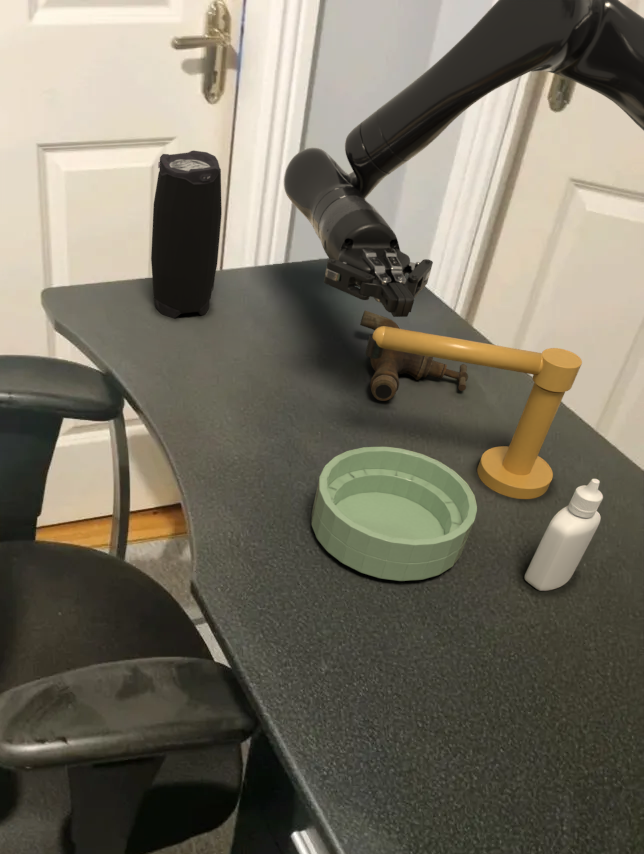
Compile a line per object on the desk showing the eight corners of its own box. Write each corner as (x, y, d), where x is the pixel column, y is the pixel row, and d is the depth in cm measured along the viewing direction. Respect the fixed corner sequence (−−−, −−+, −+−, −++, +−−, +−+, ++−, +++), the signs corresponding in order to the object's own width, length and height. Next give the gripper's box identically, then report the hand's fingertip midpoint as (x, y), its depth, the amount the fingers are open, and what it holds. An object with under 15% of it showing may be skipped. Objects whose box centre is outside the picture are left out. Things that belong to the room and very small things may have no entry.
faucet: (354, 365, 103) (474, 400, 102) (368, 298, 114) (476, 330, 114) (342, 397, 106) (457, 431, 106) (357, 329, 118) (462, 360, 117)
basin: (429, 484, 95) (443, 443, 91) (484, 581, 84) (502, 539, 80) (294, 491, 92) (302, 449, 89) (333, 591, 82) (344, 548, 78)
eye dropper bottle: (513, 562, 87) (556, 466, 78) (565, 561, 87) (614, 466, 79) (529, 592, 83) (576, 496, 75) (583, 591, 84) (635, 495, 76)
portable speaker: (138, 309, 119) (141, 160, 106) (174, 286, 125) (181, 142, 111) (190, 328, 117) (200, 177, 103) (224, 303, 122) (238, 158, 109)
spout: (568, 379, 90) (580, 351, 88) (571, 398, 87) (584, 370, 85) (366, 344, 92) (373, 316, 90) (363, 362, 89) (370, 333, 87)
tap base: (529, 455, 100) (568, 364, 92) (560, 497, 95) (604, 404, 86) (466, 458, 99) (499, 365, 91) (493, 501, 94) (532, 406, 85)
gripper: (308, 207, 98) (351, 274, 86) (416, 208, 100) (472, 274, 88) (298, 270, 103) (337, 342, 92) (401, 270, 106) (452, 340, 94)
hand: (403, 308), depth 90 cm, fingers closed
